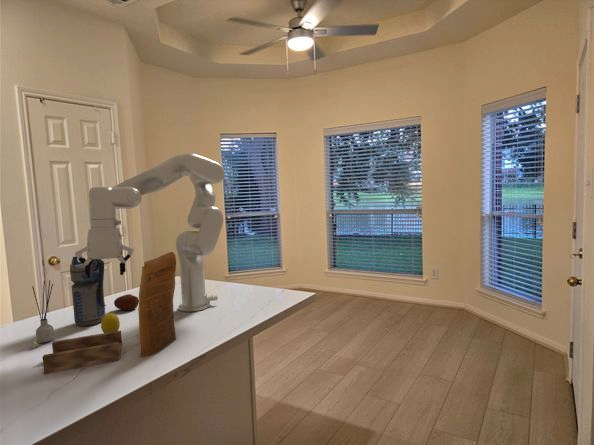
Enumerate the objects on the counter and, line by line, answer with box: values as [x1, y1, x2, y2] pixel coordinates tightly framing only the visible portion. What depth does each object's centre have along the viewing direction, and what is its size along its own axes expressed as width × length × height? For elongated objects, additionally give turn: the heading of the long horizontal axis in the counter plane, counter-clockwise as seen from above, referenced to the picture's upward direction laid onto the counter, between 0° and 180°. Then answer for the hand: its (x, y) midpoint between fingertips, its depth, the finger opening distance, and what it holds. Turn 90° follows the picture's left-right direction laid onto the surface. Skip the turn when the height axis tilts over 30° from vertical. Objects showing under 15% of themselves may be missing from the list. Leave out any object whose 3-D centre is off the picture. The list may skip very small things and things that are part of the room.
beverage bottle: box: [69, 255, 107, 327], centre depth 135 cm, size 10×13×25 cm
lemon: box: [100, 312, 121, 333], centre depth 121 cm, size 6×6×8 cm
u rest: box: [41, 330, 123, 375], centre depth 104 cm, size 18×12×5 cm, turn 112°
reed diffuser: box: [29, 280, 55, 349], centre depth 117 cm, size 10×7×20 cm
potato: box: [113, 293, 139, 311], centre depth 150 cm, size 7×9×6 cm
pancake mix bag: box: [137, 251, 177, 358], centre depth 110 cm, size 7×19×28 cm, turn 165°
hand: (106, 275), depth 120 cm, fingers open, 9 cm apart
